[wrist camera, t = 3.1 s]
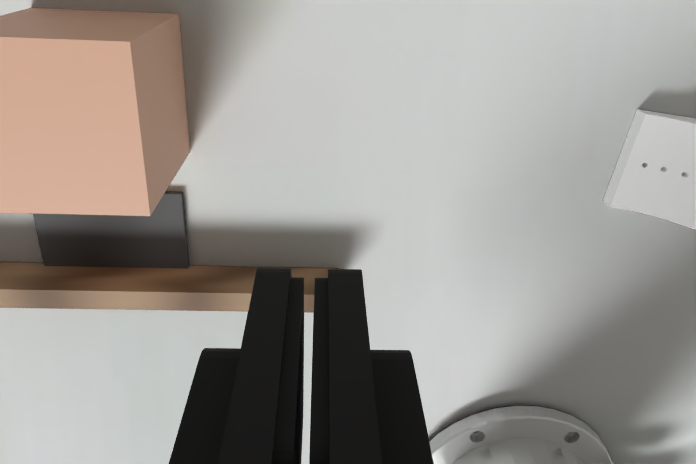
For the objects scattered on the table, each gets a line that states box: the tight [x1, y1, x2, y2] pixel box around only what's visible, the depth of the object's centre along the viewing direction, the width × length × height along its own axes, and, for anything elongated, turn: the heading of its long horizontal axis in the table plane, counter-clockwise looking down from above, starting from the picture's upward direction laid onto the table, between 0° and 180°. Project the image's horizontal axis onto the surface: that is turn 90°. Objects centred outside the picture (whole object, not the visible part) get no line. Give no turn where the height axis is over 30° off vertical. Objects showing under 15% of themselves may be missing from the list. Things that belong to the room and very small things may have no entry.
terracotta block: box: [0, 8, 190, 216], centre depth 23 cm, size 6×6×7 cm
